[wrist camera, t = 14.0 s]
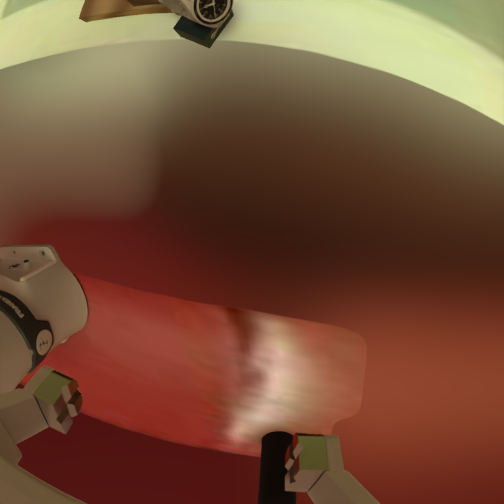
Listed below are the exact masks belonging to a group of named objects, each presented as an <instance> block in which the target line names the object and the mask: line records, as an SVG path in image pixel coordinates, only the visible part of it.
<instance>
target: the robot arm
mask: <svg viewBox="0 0 504 504" xmlns="http://www.w3.org/2000/svg"><path fill="white" fill-rule="evenodd" d="M44 252H45V253H44ZM87 317H88V308H87V302H86V298H85V295H84V293H83V290H82V288H81V286H80V284H79V283H78V281H77V279H76V278H75V277H74V275H73V274H72V273H71V272H70V270H69V269H67V267H66V266H65V265H64V264H63V263H62V262H61V260H60V258H59V256H58V254H57V252H56V250H55V248H54V247H53V246H52V245H50V244H35V245H34V244H33V245H3V246H2V247H0V504H86V503H84V502H82V501H80V500H77V499H76V498H74V497H72V496H70V495H68V494H66V493H63V492H62V491H60V490H58V489H56V488H54V487H52V486H50V485H49V484H47V483H45V482H43V481H42V480H40V479H38V478H37V477H35V476H34V475H32V474H30V473H29V472H27V471H26V470H24V469H22V468H21V467H19V466H18V465H17V464H18V462H19V460H20V459H21V457H22V454H21V452H20V450H19V449H18V448H17V446H16V445H15V444H17V443H19V442H21V441H23V440H25V439H27V438H29V437H30V436H32V435H34V434H36V433H38V432H40V431H42V430H44V429H46V428H47V427H48V426H50V427H52V428H54V429H56V430H58V431H60V432H62V433H64V434H66V433H67V431H68V429H69V428H70V426H71V424H72V423H73V422H72V417H73V416H76V415H78V413H79V411H80V410H81V406H82V395H81V393H80V392H79V391H78V389H77V388H78V387H79V385H78V382H77V380H75V379H73V378H71V377H69V376H66V375H64V374H62V373H60V372H58V371H56V370H54V369H52V368H50V367H47V366H43V367H41V368H40V370H39V371H38V372H37V373H36V374H35V375H34V377H33V378H32V379H31V380H30V381H29V382H28V384H27V385H26V386H25V387H24V388H23V389H16V390H14V389H15V387H16V386H17V385H18V384H19V382H20V381H21V380H22V379H23V378H24V376H25V375H26V374H27V373H31V372H32V371H33V370H34V369H36V368H37V367H38V365H39V364H40V363H41V362H42V361H43V360H44V359H45V357H46V355H47V354H48V353H49V352H50V351H51V350H53V349H54V348H55V347H56V346H58V345H59V344H60V343H64V342H65V341H67V340H68V338H69V337H70V336H71V335H73V334H74V333H76V332H78V331H80V330H81V329H82V328H83V327H84V326H85V324H86V321H87ZM285 467H286V468H287V470H288V472H287V474H286V475H285V491H295V492H308V495H309V496H310V498H311V499H312V501H313V502H314V503H315V504H380V503H379V502H378V501H377V500H376V499H375V498H374V497H373V496H372V495H371V494H369V492H368V491H367V490H366V489H365V488H364V487H363V486H362V485H361V484H360V483H359V482H358V481H357V480H356V479H355V478H354V477H353V476H352V475H351V474H350V473H349V472H348V471H344V468H343V461H342V455H341V449H340V443H339V438H338V436H337V435H323V434H308V433H296V434H295V435H294V437H293V443H291V444H289V446H288V449H287V452H286V456H285Z"/></svg>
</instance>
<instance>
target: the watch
mask: <svg viewBox="0 0 504 504" xmlns="http://www.w3.org/2000/svg"><path fill="white" fill-rule="evenodd" d="M158 1H159V2H160V3H161V4H163V5H164V6H165V7H167V8H168V9H170V10H171V12H173V13H176V14H178V15H182V17H181V18H180V19H179V21H178V22H177V24H176V25H175V26H174V28H173V29H174V30H175V31H176V32H177V33H178V34H179V35H180V36H181V37H183V38H186V39H188V40H191V41H193V42H196V43H198V44H200V45H203V46H205V47H208V48H210V47H211V46H212V44H213V43H214V41H215V40H216V38H217V37H218V36H219V34H220V33H221V31H222V30H223V29H224V27H225V26H226V25H227V23H228V22H229V21H230V19H231V18H232V17H233V12H232V5H233V0H158Z"/></svg>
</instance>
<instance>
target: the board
mask: <svg viewBox="0 0 504 504" xmlns="http://www.w3.org/2000/svg"><path fill="white" fill-rule="evenodd" d="M152 13H171V10H170V9H168V8H167V7H165V6H164V5H163V4H154V5H143V6H133V5H131V4H130V3H129V2H128V1H127V0H85V2H84V5H83V8H82V11H81V14H80V17H79V19H81V20H83V21H85V22H89V21H95V20H100V19H107V18H113V17H121V16H129V15H139V14H152Z"/></svg>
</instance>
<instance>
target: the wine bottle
mask: <svg viewBox="0 0 504 504" xmlns="http://www.w3.org/2000/svg"><path fill="white" fill-rule="evenodd" d="M291 443H293V436H292V435H291V434H289V433H286V432H272V433H269V434H267V435H265V436H264V437H263V438H262V449H261V465H260V480H259V494H258V504H296V492H295V491H285V475H286V474H287V472H288V470H287V468H286V467H285V456H286V452H287V449H288V446H289V444H291Z"/></svg>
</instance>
